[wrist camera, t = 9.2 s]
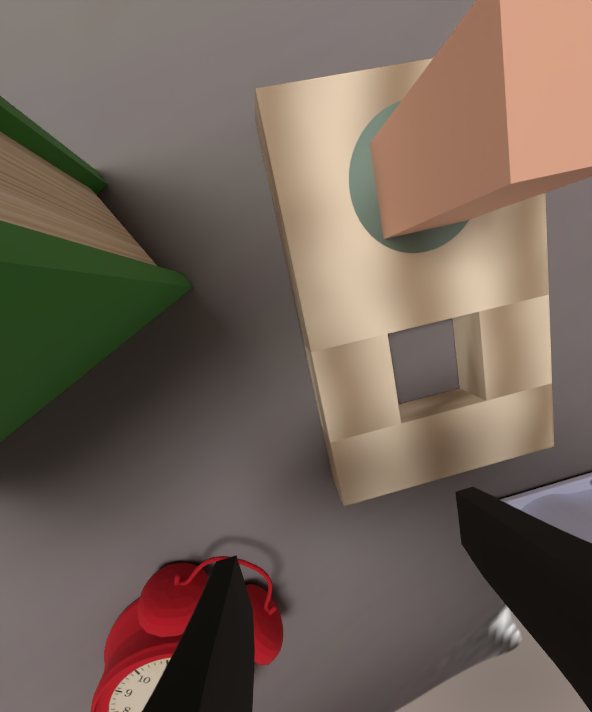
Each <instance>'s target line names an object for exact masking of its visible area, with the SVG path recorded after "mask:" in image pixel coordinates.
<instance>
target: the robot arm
mask: <svg viewBox="0 0 592 712" xmlns="http://www.w3.org/2000/svg"><path fill="white" fill-rule="evenodd" d="M456 500H457V509H458V517H459V526H460V534H461V543H462V545H463V547H464V548H465V550H466V551H467V553H468V554H469V556H470V558H471V559H472V561H473V562H474V564H475V565H476V566H477V568H478V569H479V571H480V572H481V574H482V575H483V577H484V578H485V579H486V581H487V582H488V583H489V584H490V586H491V587H492V588H493V589H494V590H495V592H496V593H497V594H498V595H499V597H500V598H501V599H502V600H503V602H504V603H505V604H506V605H507V606H508V608H509V609H510V610H511V611H512V612H513V614H514V615H515V616H516V617H517V618H518V620H519V621H520V622H521V623H522V625H523V626H524V627H525V628H526V629H527V630H528V632H529V633H530V634H531V635H532V637H533V638H534V639H535V640H536V641H537V643H538V644H539V645H540V646H541V647H542V649H543V650H544V651H545V652H546V653H547V655H548V656H549V657H550V658H551V660H552V661H553V662H554V663H555V664H556V666H557V667H558V668H559V670H560V671H561V672H562V673H563V675H564V676H565V677H566V679H567V680H568V681H569V682H570V684H571V685H572V686H573V688H574V689H575V690H576V692H577V693H578V694H579V696H580V697H581V698H582V700H583V701H584V703H585V704H586V706H587V707H588V708H589V710H590V711H591V712H592V473H588V474H585V475H582V476H578V477H575V478H571V479H568V480H565V481H561V482H558V483H555V484H551V485H548V486H544V487H541V488H538V489H534V490H531V491H528V492H524V493H521V494H517V495H514V496H511V497H507V498H504V499H501V500H499V499H497V498H495V497H493V496H491V495H489V494H487V493H485V492H483V491H481V490H479V489H477V488H475V487H470V488H467V489H464V490H460V491H457V492H456ZM254 658H255V644H254V621H253V607H252V604H251V600H250V597H249V594H248V591H247V588H246V585H245V581H244V578H243V575H242V572H241V569H240V566H239V562H238V559H237V556H233V557H229V558H226V559H223V560H219V561H217V562H216V563H215V565H214V567H213V569H212V571H211V574H210V576H209V578H208V580H207V583H206V585H205V587H204V590H203V592H202V594H201V596H200V599H199V601H198V603H197V605H196V607H195V610H194V612H193V614H192V616H191V618H190V620H189V622H188V624H187V626H186V628H185V631H184V633H183V635H182V637H181V639H180V641H179V643H178V645H177V647H176V649H175V651H174V653H173V655H172V657H171V659H170V660H169V662H168V664H167V666H166V668H165V670H164V672H163V674H162V676H161V678H160V679H159V681H158V683H157V685H156V687H155V689H154V691H153V692H152V694H151V696H150V698H149V700H148V701H147V703H146V705H145V707H144V709H143V710H142V712H252V705H253V683H254Z"/></svg>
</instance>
